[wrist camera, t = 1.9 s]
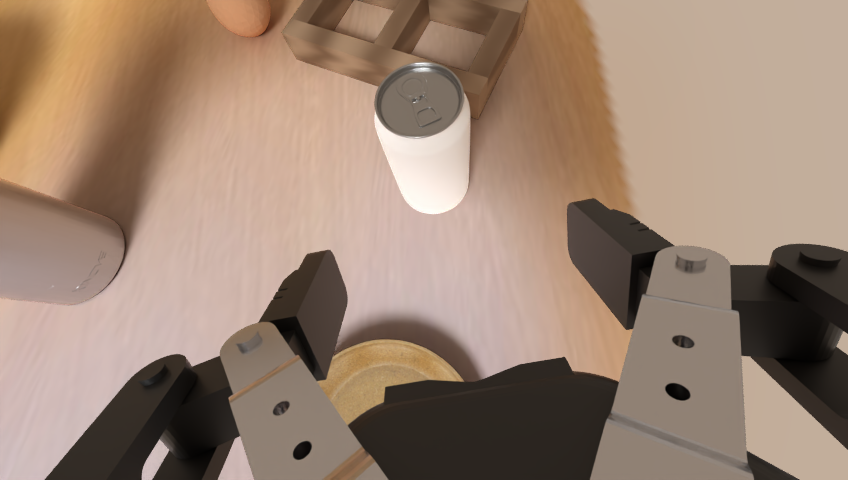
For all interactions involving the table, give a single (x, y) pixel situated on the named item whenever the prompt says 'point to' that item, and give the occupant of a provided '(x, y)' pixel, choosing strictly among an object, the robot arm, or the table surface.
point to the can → (425, 134)
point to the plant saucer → (379, 373)
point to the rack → (408, 39)
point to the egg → (242, 15)
